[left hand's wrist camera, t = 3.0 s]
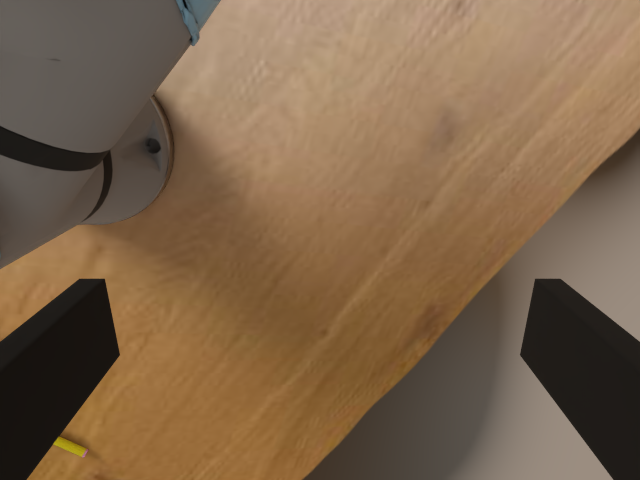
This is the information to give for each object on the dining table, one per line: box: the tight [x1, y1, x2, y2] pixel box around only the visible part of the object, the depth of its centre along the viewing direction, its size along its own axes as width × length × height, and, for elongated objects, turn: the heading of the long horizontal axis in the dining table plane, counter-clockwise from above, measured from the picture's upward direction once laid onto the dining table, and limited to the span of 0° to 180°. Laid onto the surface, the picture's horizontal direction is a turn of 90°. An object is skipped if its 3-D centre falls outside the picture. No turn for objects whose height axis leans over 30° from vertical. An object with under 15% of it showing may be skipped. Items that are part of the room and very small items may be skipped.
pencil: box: [54, 436, 89, 458], centre depth 50 cm, size 16×1×1 cm, turn 57°
